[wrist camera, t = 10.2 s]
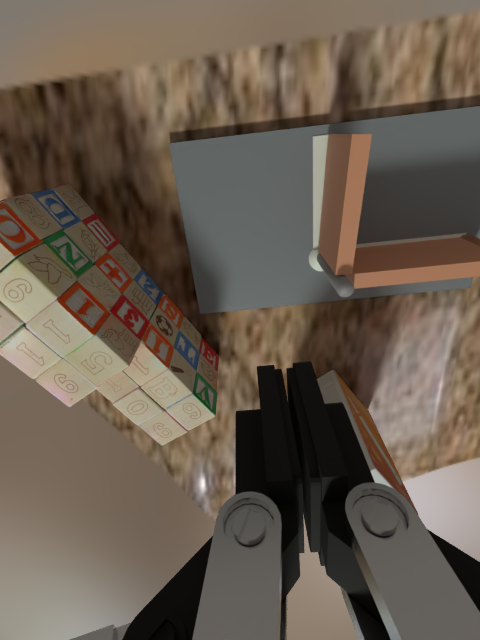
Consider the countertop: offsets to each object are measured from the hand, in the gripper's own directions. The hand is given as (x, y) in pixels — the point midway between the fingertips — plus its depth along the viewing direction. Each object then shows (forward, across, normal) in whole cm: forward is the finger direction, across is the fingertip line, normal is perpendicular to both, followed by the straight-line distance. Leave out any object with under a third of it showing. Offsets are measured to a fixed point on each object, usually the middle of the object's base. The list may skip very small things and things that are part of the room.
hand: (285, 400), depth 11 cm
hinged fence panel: (+21, -6, -2) cm, 22 cm away
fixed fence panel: (+22, -13, +3) cm, 25 cm away
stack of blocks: (+22, +13, +5) cm, 26 cm away
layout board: (+22, -7, 0) cm, 23 cm away
